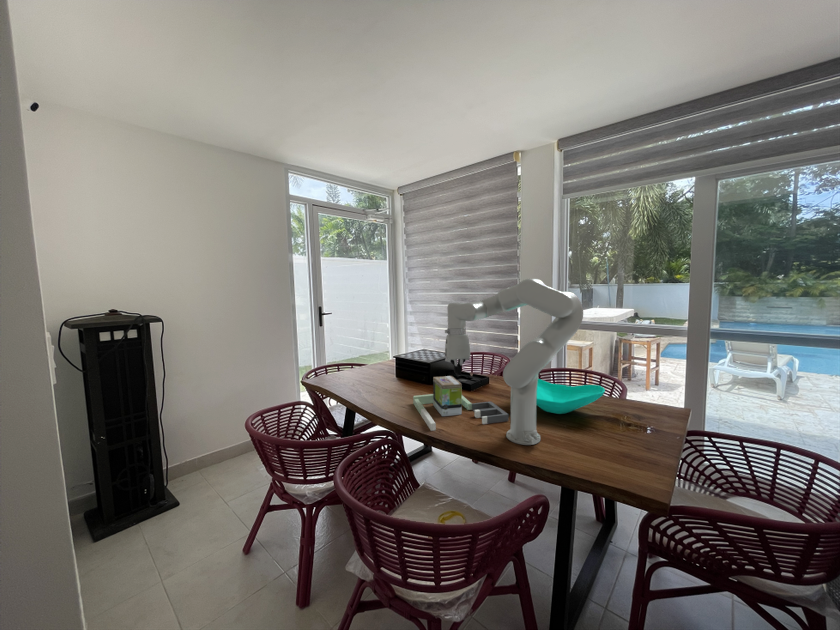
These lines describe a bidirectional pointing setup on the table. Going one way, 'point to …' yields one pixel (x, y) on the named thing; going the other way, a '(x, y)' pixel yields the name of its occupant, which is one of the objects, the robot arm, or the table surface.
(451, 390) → the tea box
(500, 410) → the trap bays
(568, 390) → the table top decor
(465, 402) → the lane
